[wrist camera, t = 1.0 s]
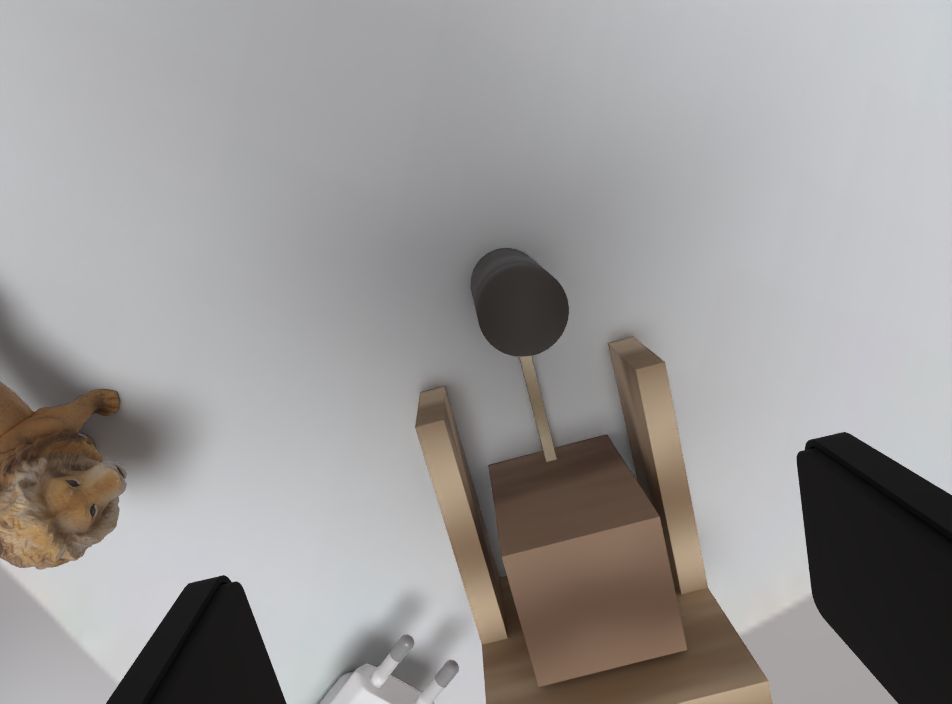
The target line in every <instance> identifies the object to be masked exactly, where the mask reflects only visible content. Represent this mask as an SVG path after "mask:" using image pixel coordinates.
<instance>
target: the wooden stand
mask: <svg viewBox="0 0 952 704" xmlns="http://www.w3.org/2000/svg"><path fill="white" fill-rule="evenodd" d="M608 344H609V348H610V353H611V358H612V362H613V367H614V372H615V377H616V381H617V386H618V391H619V395H620V400H621V405H622V409H623V414H624V419H625V423H626V428H627V433H628V437H629V442H630V447H631V451H632V456H633V461H634V465H635V470H636V475H637V479H638V484H639V485H640V487H641V488H642V490H643V491H644V493H645V494H646V496H647V498H648V499H649V501H650V502H651V504H652V505H653V507H654V508H655V510H656V511H657V513H658V515H659V516H660V520H661V525H662V530H663V535H664V539H665V544H666V549H667V554H668V559H669V564H670V568H671V573H672V578H673V583H674V588H675V593H676V597H677V602H678V607H679V612H680V617H681V622H682V626H683V631H684V636H685V641H686V646H687V650H685V651H681V652H677V653H673V654H669V655H665V656H661V657H657V658H653V659H649V660H645V661H641V662H637V663H633V664H629V665H625V666H621V667H617V668H613V669H609V670H605V671H601V672H597V673H593V674H589V675H585V676H581V677H577V678H573V679H569V680H565V681H561V682H557V683H553V684H549V685H545V686H541V687H538V683H537V680H536V676H535V673H534V669H533V665H532V662H531V658H530V655H529V651H528V648H527V644H526V641H525V637H524V634H523V630H522V627H521V623H520V620H519V616H518V613H517V609H516V606H515V602H514V599H513V595H512V592H511V588H510V585H509V581H508V578H507V577H504V578H500V577H499V573H498V570H497V566H496V563H495V559H494V556H493V553H492V549H491V546H490V542H489V539H488V535H487V532H486V528H485V525H484V521H483V518H482V514H481V511H480V507H479V504H478V500H477V497H476V494H475V490H474V487H473V483H472V480H471V476H470V473H469V469H468V466H467V462H466V459H465V455H464V452H463V448H462V445H461V442H460V438H459V435H458V431H457V428H456V424H455V421H454V417H453V414H452V410H451V407H450V403H449V400H448V396H447V393H446V390H445V386H444V387H440V388H437V389H433V390H429V391H425V392H421V393H420V398H419V405H418V412H417V419H416V426H415V428H416V431H417V434H418V438H419V441H420V444H421V447H422V451H423V454H424V457H425V461H426V464H427V467H428V470H429V474H430V477H431V480H432V483H433V487H434V490H435V493H436V496H437V500H438V503H439V506H440V509H441V513H442V516H443V519H444V523H445V526H446V529H447V532H448V536H449V539H450V542H451V545H452V549H453V552H454V555H455V558H456V562H457V565H458V568H459V572H460V575H461V578H462V581H463V585H464V588H465V591H466V594H467V598H468V601H469V604H470V607H471V611H472V614H473V617H474V620H475V624H476V627H477V630H478V634H479V637H480V640H481V643H482V652H483V666H484V680H485V693H486V704H772V699H771V693H770V687H769V681H768V680H767V678H766V676H765V675H764V673H763V672H762V670H761V669H760V667H759V666H758V664H757V662H756V661H755V660H754V658H753V657H752V655H751V653H750V652H749V650H748V649H747V647H746V646H745V644H744V643H743V641H742V639H741V638H740V636H739V635H738V633H737V632H736V630H735V629H734V627H733V626H732V624H731V623H730V621H729V619H728V618H727V616H726V615H725V613H724V612H723V610H722V609H721V607H720V606H719V604H718V603H717V601H716V599H715V598H714V596H713V595H712V593H711V592H710V590H709V589H708V585H707V580H706V575H705V570H704V565H703V559H702V554H701V549H700V544H699V538H698V533H697V528H696V523H695V518H694V512H693V507H692V502H691V497H690V491H689V486H688V481H687V476H686V470H685V465H684V460H683V455H682V450H681V444H680V439H679V434H678V429H677V423H676V418H675V413H674V408H673V402H672V397H671V392H670V387H669V382H668V376H667V371H666V366H665V362H664V361H663V360H662V359H660V358H659V357H658V356H657V355H655V354H654V353H653V352H652V351H650V350H649V349H648V348H647V347H645V346H644V345H643V344H642V343H640V342H639V341H638V340H637V339H635V338H634V337H631V338H627V339H623V340H619V341H615V342H611V343H608Z"/></svg>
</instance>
